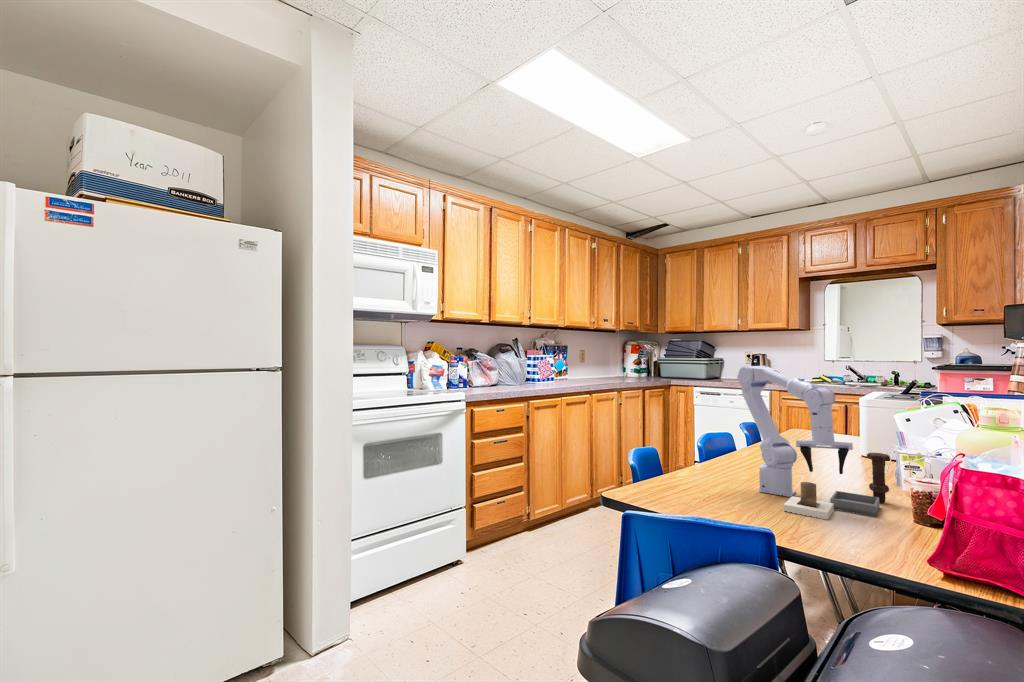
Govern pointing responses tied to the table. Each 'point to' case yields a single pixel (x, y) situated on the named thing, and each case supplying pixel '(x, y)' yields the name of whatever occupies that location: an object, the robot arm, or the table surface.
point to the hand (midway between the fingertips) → (826, 472)
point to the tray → (855, 503)
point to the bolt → (878, 475)
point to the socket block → (809, 508)
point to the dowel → (808, 494)
